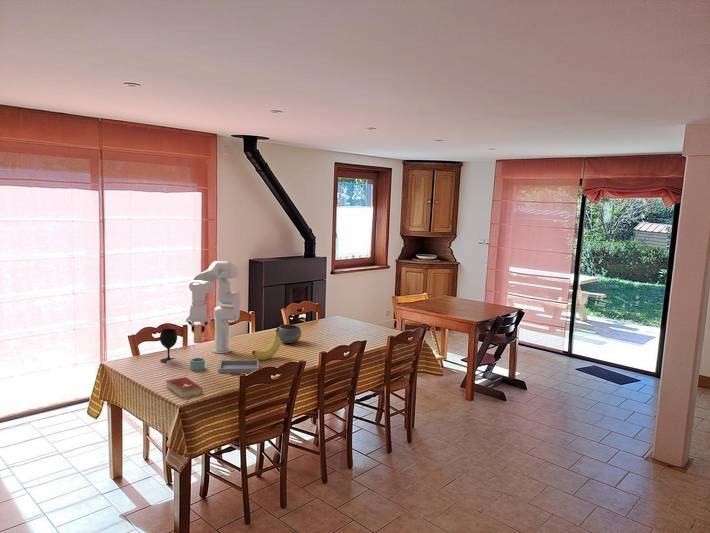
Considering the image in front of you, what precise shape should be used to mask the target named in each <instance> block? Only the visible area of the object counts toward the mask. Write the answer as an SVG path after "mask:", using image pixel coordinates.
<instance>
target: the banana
mask: <svg viewBox="0 0 710 533" xmlns="http://www.w3.org/2000/svg"><path fill="white" fill-rule="evenodd" d="M278 331H279V327H276V329H275V336H274V337H273V338H272V340H271V342H270V343H269V345H268V346H267V348H265V349H263V350H252V352H251V353H252V357H253V358H254V360H259V361H264V360H268V359H270V358H272V357H273V356H275V354H276V353H277V352H278V350H279V349H280V347H281V340H280V338H279V336H278Z"/></svg>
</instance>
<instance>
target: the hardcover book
mask: <svg viewBox="0 0 710 533" xmlns="http://www.w3.org/2000/svg"><path fill="white" fill-rule="evenodd" d="M165 382H166V387H167V388H168V389H169V390H171V391H172V392H174V394H176V395H177V396H178V397H180V398H185V397H186V396H187V397H190V396H195V395H200V394H203V389H204V388H203V387H202V386H200V385H199V384H198V383H196V382H194V381H193V380H191V379H190V378H188V377H186V376H184V377H177V378H171V379H166V380H165Z"/></svg>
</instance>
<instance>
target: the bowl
mask: <svg viewBox="0 0 710 533" xmlns="http://www.w3.org/2000/svg"><path fill="white" fill-rule="evenodd" d="M278 328H279V331H278V336H279V338H280V342H282V343H284V344H288V343H290V344H294V343H296V342H298V341H299V340H300V339H301V337H302V330H301V327H300V325H298V324H292V323H289V324H288V323H286V324H281V325H280V326H278Z"/></svg>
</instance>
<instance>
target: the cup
mask: <svg viewBox="0 0 710 533" xmlns="http://www.w3.org/2000/svg"><path fill="white" fill-rule="evenodd" d="M189 364H190V365H189V370H191V371H195V372H200V371H203V370H205V368H206V359H205V358H203V357H192V358H191V359H190V362H189Z"/></svg>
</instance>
